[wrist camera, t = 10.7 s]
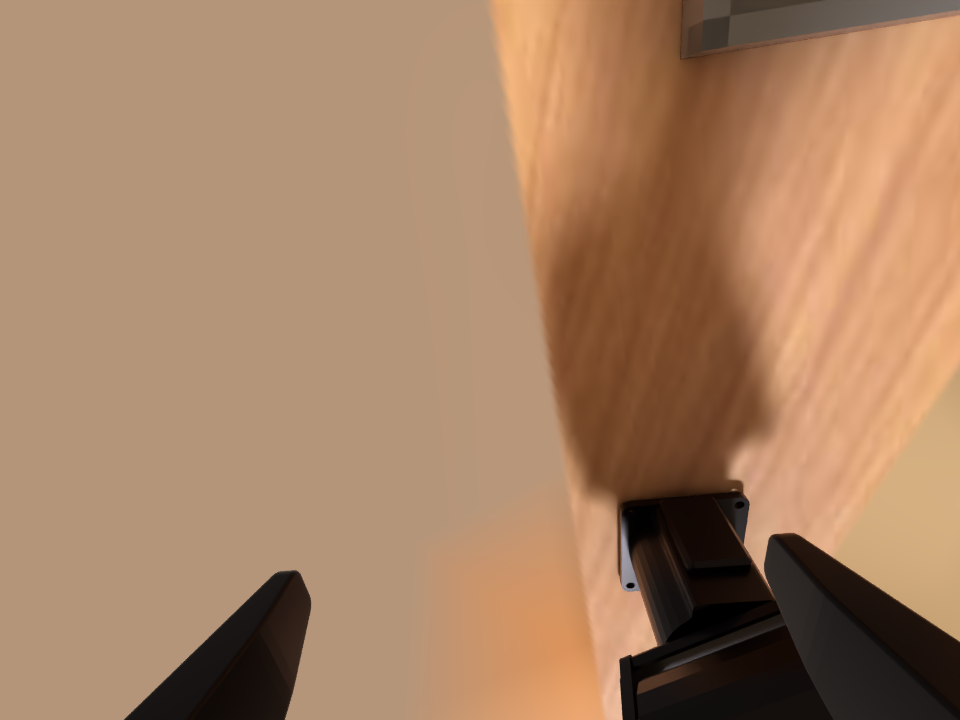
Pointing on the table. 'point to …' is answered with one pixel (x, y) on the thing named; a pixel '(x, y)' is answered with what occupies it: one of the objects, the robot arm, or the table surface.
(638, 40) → the table surface
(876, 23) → the tray
